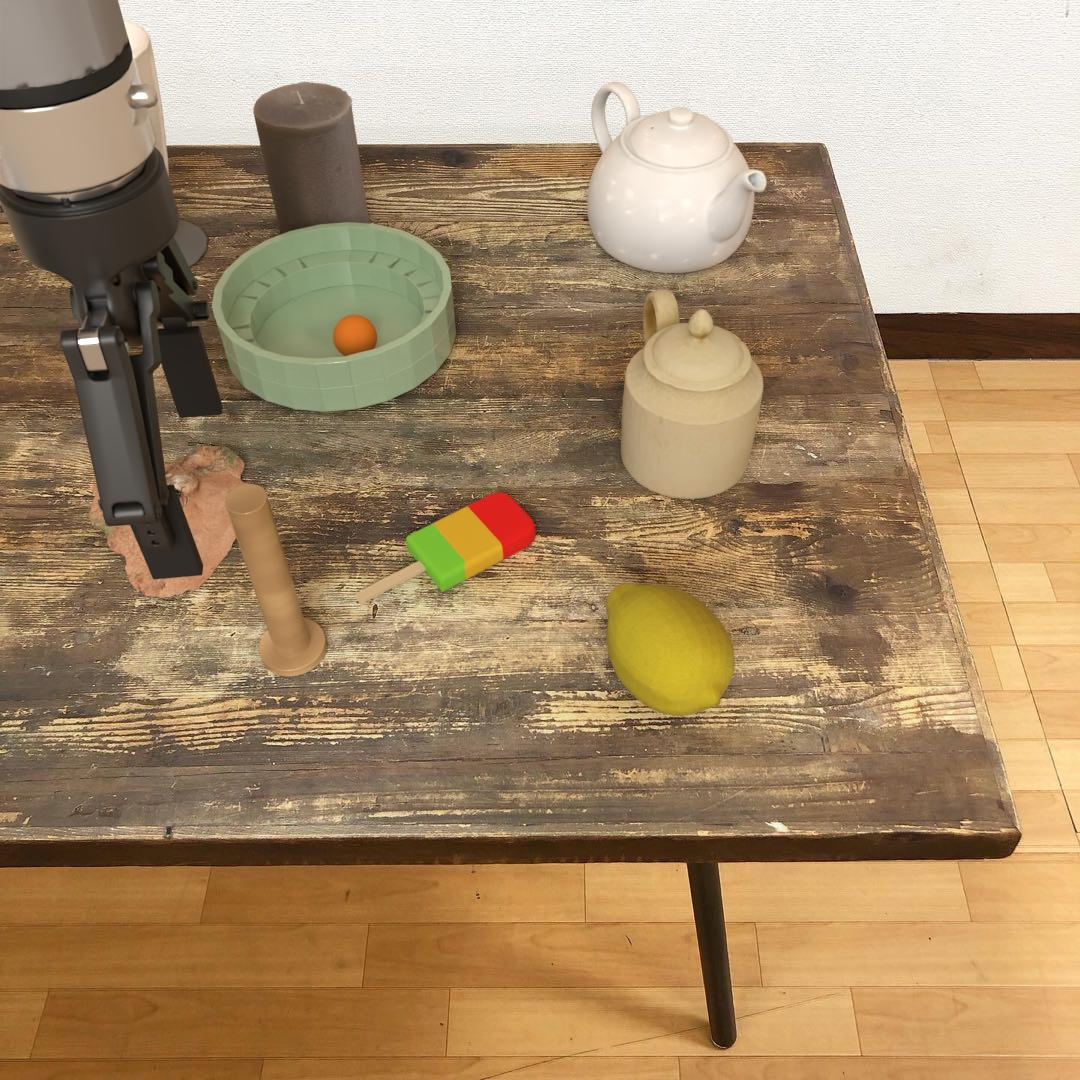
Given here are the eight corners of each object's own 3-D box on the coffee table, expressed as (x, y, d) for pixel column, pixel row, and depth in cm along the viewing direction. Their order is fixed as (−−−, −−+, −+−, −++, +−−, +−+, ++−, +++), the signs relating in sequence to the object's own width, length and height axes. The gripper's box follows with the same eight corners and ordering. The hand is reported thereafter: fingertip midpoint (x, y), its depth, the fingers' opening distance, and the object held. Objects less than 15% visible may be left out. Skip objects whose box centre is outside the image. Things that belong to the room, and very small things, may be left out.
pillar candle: (283, 258, 111) (252, 120, 100) (276, 209, 118) (246, 74, 106) (376, 244, 113) (355, 107, 101) (364, 197, 119) (344, 62, 108)
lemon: (753, 718, 74) (770, 650, 68) (654, 762, 72) (662, 696, 66) (673, 607, 80) (682, 536, 74) (580, 644, 78) (582, 574, 72)
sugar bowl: (562, 428, 93) (562, 283, 82) (651, 373, 98) (663, 229, 87) (687, 522, 86) (706, 376, 75) (777, 457, 91) (807, 311, 79)
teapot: (758, 193, 118) (776, 70, 108) (750, 290, 106) (770, 163, 96) (591, 179, 121) (593, 59, 111) (564, 274, 109) (565, 148, 99)
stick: (247, 661, 78) (190, 511, 66) (286, 614, 80) (238, 461, 68) (301, 686, 76) (253, 537, 64) (339, 637, 79) (300, 485, 67)
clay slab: (237, 592, 82) (228, 566, 80) (63, 598, 82) (49, 573, 79) (263, 457, 91) (255, 431, 89) (107, 463, 91) (95, 437, 89)
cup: (94, 231, 115) (17, 26, 99) (202, 212, 117) (144, 8, 101) (99, 291, 108) (17, 81, 92) (214, 269, 110) (154, 60, 94)
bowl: (218, 426, 94) (201, 373, 90) (236, 283, 109) (222, 231, 104) (463, 405, 96) (458, 352, 91) (449, 266, 110) (444, 214, 105)
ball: (333, 344, 95) (332, 366, 99) (379, 345, 96) (376, 367, 100) (333, 305, 97) (331, 328, 100) (377, 307, 98) (375, 330, 101)
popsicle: (542, 541, 85) (542, 526, 83) (376, 630, 79) (372, 615, 78) (503, 500, 88) (502, 485, 86) (341, 583, 82) (337, 567, 81)
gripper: (121, 321, 41) (238, 647, 57) (188, 39, 58) (264, 353, 73) (-82, 335, 40) (94, 660, 56) (44, 47, 57) (153, 361, 73)
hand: (190, 487), depth 65 cm, fingers open, 13 cm apart
